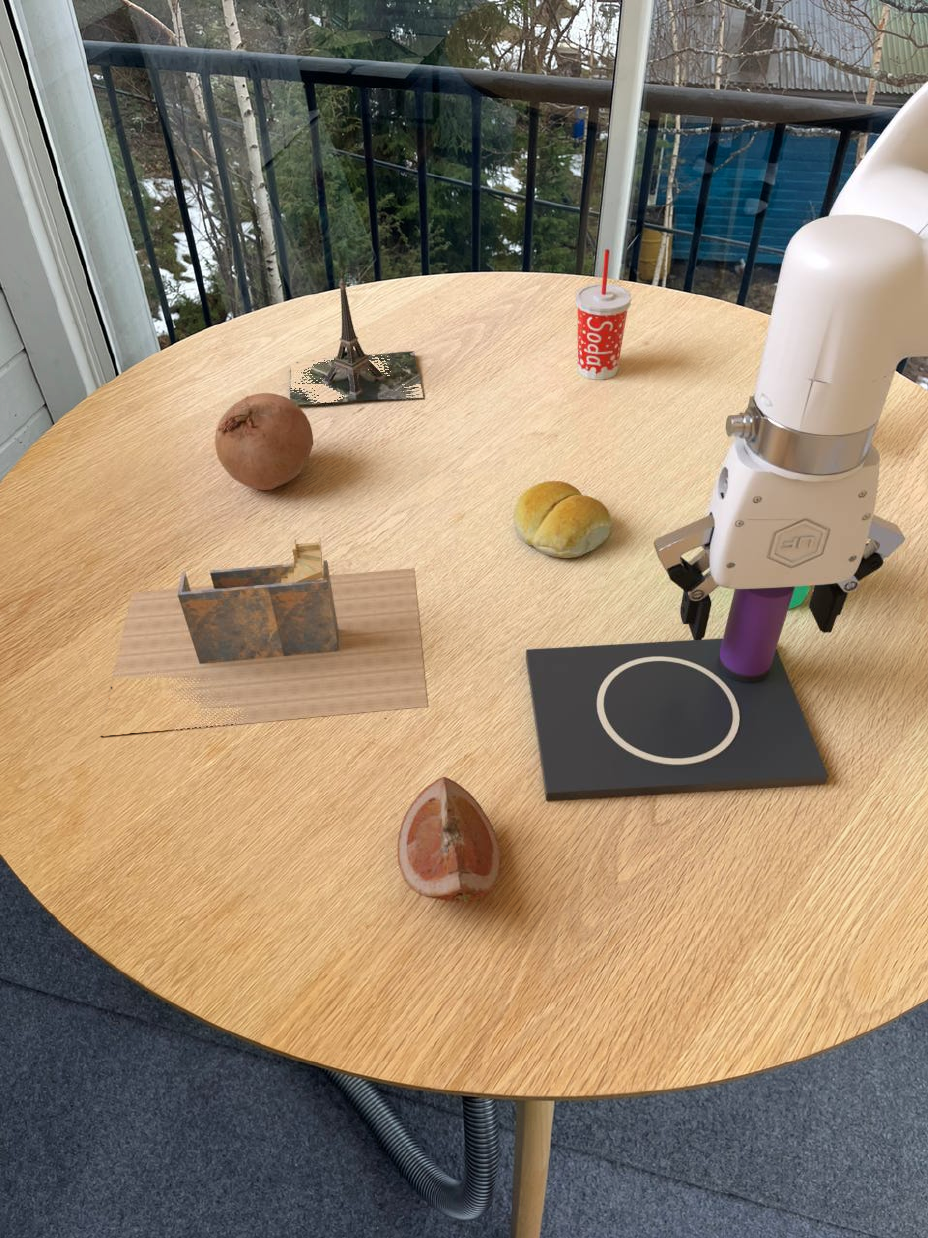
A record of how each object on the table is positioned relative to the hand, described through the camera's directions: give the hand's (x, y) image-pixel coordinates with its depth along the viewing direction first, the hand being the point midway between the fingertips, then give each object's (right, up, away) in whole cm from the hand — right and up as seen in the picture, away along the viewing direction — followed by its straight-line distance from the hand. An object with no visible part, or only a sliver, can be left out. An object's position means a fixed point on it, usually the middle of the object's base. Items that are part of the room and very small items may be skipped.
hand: (756, 623), depth 71 cm
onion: (-42, +15, +24) cm, 50 cm away
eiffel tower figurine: (-35, +28, +38) cm, 58 cm away
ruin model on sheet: (-38, -2, +7) cm, 39 cm away
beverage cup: (-7, +29, +38) cm, 49 cm away
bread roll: (-13, +8, +17) cm, 23 cm away
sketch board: (-7, -7, +1) cm, 10 cm away
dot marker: (0, -3, +3) cm, 5 cm away
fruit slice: (-23, -17, -8) cm, 29 cm away
